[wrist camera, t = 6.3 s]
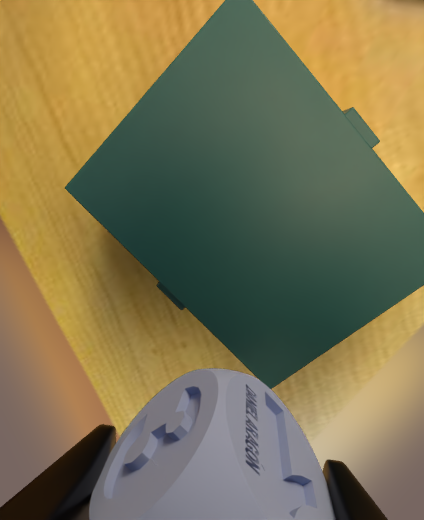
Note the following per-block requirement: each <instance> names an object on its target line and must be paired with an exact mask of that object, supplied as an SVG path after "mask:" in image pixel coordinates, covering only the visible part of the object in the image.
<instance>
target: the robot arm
mask: <svg viewBox="0 0 424 520" xmlns="http://www.w3.org/2000/svg"><path fill="white" fill-rule="evenodd" d="M115 444H116V428H115V427H114V426H110V425H104V424H102V425H99V426H98V427H96V428H95V429H94V430H93V431H92V432H90V433H89V434H88V435H87V436H86V437H84V438H83V439H82V440H81V441H80V442H78V443H77V444H76V445H75V446H74V447H72V448H71V449H70V450H69V451H68V452H66V453H65V454H64V455H63V456H62V457H60V458H59V459H58V460H57V461H56V462H54V463H53V464H52V465H51V466H50V467H48V468H47V469H46V470H45V471H44V472H42V473H41V474H40V475H39V476H38V477H36V478H35V479H34V480H33V481H32V482H31V483H29V484H28V485H27V486H26V487H24V488H23V489H22V490H21V491H20V492H18V493H17V494H16V495H15V496H14V497H12V498H11V499H10V500H9V501H8V502H6V503H5V504H4V505H3V506H2V507H0V520H89V507H90V501H91V496H92V493H93V490H94V488H95V485H96V483H97V481H98V479H99V477H100V474H101V472H102V470H103V468H104V465H105V463H106V461H107V459H108V456H109V454H110V452H111V451H112V449H113V447H114V446H115ZM323 474H324V477H325V480H326V482H327V485H328V489H329V493H330V497H331V501H332V505H333V510H334V514H335V518H336V520H388V519H387V518H386V517H385V515H384V514H383V513H382V512H381V510H380V509H379V508H378V506H377V505H376V504H375V502H374V501H373V500H372V498H371V497H370V496H369V495H368V493H367V492H366V491H365V490H364V488H363V487H362V486H361V484H360V483H359V482H358V481H357V479H356V478H355V476H354V475H353V474H352V473H351V471H350V470H349V469H348V468H347V466H346V465H345V464H344V463H343V462H341V461H336V460H327V461H326V462H325V464H324V468H323Z"/></svg>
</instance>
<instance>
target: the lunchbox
mask: <svg viewBox="0 0 424 520" xmlns="http://www.w3.org/2000/svg"><path fill="white" fill-rule="evenodd" d="M379 142H380V140H379V139H378V138H377V136H376V135H375V134H374V133H373V131H372V130H371V129H370V128H369V126H368V125H367V124H366V123H365V121H364V120H363V119H362V118H361V116H360V115H359V114H358V113H357V111H356V110H355V109H354V108H353V107H352V108H350V109H347V110H344V111H341V109H340V108H339V107H338V106H337V104H336V103H335V102H334V101H333V99H332V98H331V97H330V96H329V95H328V93H327V92H326V91H325V90H324V88H323V87H322V86H321V85H320V83H319V82H318V81H317V80H316V78H315V77H314V76H313V75H312V73H311V72H310V71H309V70H308V68H307V67H306V66H305V65H304V63H303V62H302V61H301V60H300V58H299V57H298V56H297V55H296V54H295V52H294V51H293V50H292V49H291V47H290V46H289V45H288V44H287V42H286V41H285V40H284V39H283V37H282V36H281V35H280V34H279V32H278V31H277V30H276V29H275V27H274V26H273V25H272V24H271V22H270V21H269V20H268V19H267V17H266V16H265V15H264V14H263V12H262V11H261V10H260V9H259V8H258V6H257V5H256V4H255V3H254V1H253V0H225V1H224V2H223V4H222V5H221V6H220V7H219V8H218V9H217V11H216V12H215V13H214V14H213V15H212V16H211V18H210V19H209V20H208V21H207V22H206V23H205V25H204V26H203V27H202V28H201V29H200V30H199V32H198V33H197V34H196V35H195V36H194V37H193V39H192V40H191V41H190V42H189V43H188V44H187V46H186V47H185V48H184V49H183V50H182V51H181V53H180V54H179V55H178V56H177V57H176V58H175V60H174V61H173V62H172V63H171V64H170V65H169V67H168V68H167V69H166V70H165V71H164V72H163V74H162V75H161V76H160V77H159V78H158V79H157V81H156V82H155V83H154V84H153V85H152V86H151V88H150V89H149V90H148V91H147V92H146V93H145V95H144V96H143V97H142V98H141V99H140V100H139V102H138V103H137V104H136V105H135V106H134V107H133V109H132V110H131V111H130V112H129V113H128V114H127V116H126V117H125V118H124V119H123V120H122V121H121V123H120V124H119V125H118V126H117V127H116V128H115V130H114V131H113V132H112V133H111V134H110V135H109V137H108V138H107V139H106V140H105V141H104V142H103V144H102V145H101V146H100V147H99V148H98V149H97V151H96V152H95V153H94V154H93V155H92V156H91V158H90V159H89V160H88V161H87V162H86V163H85V165H84V166H83V167H82V168H81V169H80V170H79V172H78V173H77V174H76V175H75V176H74V177H73V179H72V180H71V181H70V182H69V183H68V184H67V186H66V187H65V189H66V190H67V191H68V192H69V193H70V194H71V195H72V196H73V197H74V198H75V199H76V200H77V201H78V202H79V203H80V204H81V205H82V206H83V207H84V208H85V209H86V210H87V211H88V212H89V213H90V214H91V215H92V216H93V217H94V218H95V219H96V220H97V221H98V222H99V223H100V224H101V225H103V226H104V227H105V228H106V229H107V230H108V231H109V232H110V233H111V234H112V235H113V236H114V237H115V238H116V239H117V240H118V241H119V242H120V243H121V244H122V245H123V246H124V247H125V248H126V249H127V250H128V251H129V252H130V253H131V254H132V255H133V256H134V257H135V258H136V259H137V260H138V261H139V262H140V263H141V264H142V265H143V266H144V267H145V268H146V269H147V270H148V271H149V272H150V273H151V274H152V275H153V276H154V277H155V278H156V279H157V280H158V281H159V282H158V284H157V287H158V288H159V289H160V290H161V291H162V292H163V293H164V294H165V295H166V296H167V297H168V298H169V299H170V300H171V301H172V302H173V303H174V304H175V305H176V306H177V307H178V308H179V309H180V310H183V309H184V308H185V307H186V308H187V309H188V310H189V311H190V312H191V313H192V314H193V315H194V316H195V317H196V318H197V319H198V320H199V321H200V322H201V323H202V324H203V325H204V326H205V327H206V328H207V329H208V330H209V331H210V332H211V333H212V334H213V335H214V336H215V337H217V338H218V339H219V340H220V341H221V342H222V343H223V344H224V345H225V346H226V347H227V348H228V349H229V350H230V351H231V352H232V353H233V354H234V355H235V356H236V357H237V358H238V359H239V360H240V361H241V362H242V363H243V364H244V365H245V366H246V367H247V368H248V369H249V370H250V371H251V372H252V373H253V374H254V375H255V376H256V377H257V378H258V379H259V380H260V381H261V382H263V383H264V384H265V385H266V386H268V387H269V388H270V389H272V388H273V387H275V386H276V385H278V384H279V383H281V382H282V381H284V380H285V379H286V378H288V377H289V376H291V375H292V374H294V373H295V372H297V371H298V370H300V369H301V368H303V367H304V366H306V365H307V364H309V363H310V362H311V361H313V360H314V359H316V358H317V357H319V356H320V355H322V354H323V353H325V352H326V351H328V350H329V349H331V348H332V347H333V346H335V345H336V344H338V343H339V342H341V341H342V340H344V339H345V338H347V337H348V336H350V335H351V334H353V333H354V332H356V331H357V330H358V329H360V328H361V327H363V326H364V325H366V324H367V323H369V322H370V321H372V320H373V319H375V318H376V317H378V316H379V315H380V314H382V313H383V312H385V311H386V310H388V309H389V308H391V307H392V306H394V305H395V304H397V303H398V302H400V301H401V300H403V299H404V298H405V297H407V296H408V295H410V294H411V293H413V292H414V291H416V290H417V289H419V288H420V287H422V286H423V285H424V213H423V211H422V210H421V209H420V208H419V206H418V205H417V204H416V203H415V201H414V200H413V199H412V198H411V196H410V195H409V194H408V193H407V191H406V190H405V189H404V188H403V186H402V185H401V184H400V183H399V182H398V180H397V179H396V178H395V177H394V175H393V174H392V173H391V172H390V170H389V169H388V168H387V167H386V165H385V164H384V163H383V162H382V160H381V159H380V158H379V157H378V155H377V154H376V153H375V152H374V150H373V149H372V148H373V147H374V146H375V145H377V144H378V143H379Z"/></svg>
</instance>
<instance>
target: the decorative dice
mask: <svg viewBox="0 0 424 520" xmlns="http://www.w3.org/2000/svg"><path fill="white" fill-rule="evenodd" d="M89 520H336V518H335V514H334V510H333V505H332V501H331V497H330V493H329V489H328V485H327V482H326V480H325V477H324V474H323V472H322V469H321V467H320V465H319V462H318V460H317V458H316V456H315V454H314V452H313V449H312V448H311V446H310V444H309V442H308V440H307V438H306V436H305V434H304V433H303V431H302V429H301V428H300V426H299V425H298V423H297V421H296V420H295V418H294V417H293V415H292V414H291V413H290V411H289V410H288V409H287V407H286V406H285V405H284V403H283V402H282V401H281V400H280V399H279V397H278V396H277V395H276V394H275V393H274V392H273V391H272V390H271V389H270V388H269V387H268V386H266V385H265V384H264V383H263V382H261V381H260V380H259V379H257V378H255V377H253V376H251V375H248V374H245V373H242V372H238V371H234V370H228V369H217V368H209V369H198V370H194V371H191V372H188V373H186V374H184V375H182V376H180V377H179V378H177V379H176V380H174V381H173V382H171V383H170V384H168V385H167V386H166V387H165V388H163V389H162V390H161V391H160V392H159V393H158V394H157V395H156V396H154V397H153V398H152V399H151V400H150V401H149V402H148V403H147V404H146V405H145V407H144V408H143V409H142V410H141V411H140V412H139V413H138V414H137V416H136V417H135V418H134V419H133V420H132V422H131V423H130V424H129V426H128V427H127V428H126V430H125V431H124V432H123V434H122V435H121V437H120V438H119V440H118V441H117V443H116V444H115V446H114V447H113V449H112V451H111V452H110V454H109V456H108V459H107V461H106V463H105V465H104V468H103V470H102V472H101V474H100V477H99V479H98V481H97V483H96V485H95V488H94V490H93V493H92V496H91V501H90V507H89Z"/></svg>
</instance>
